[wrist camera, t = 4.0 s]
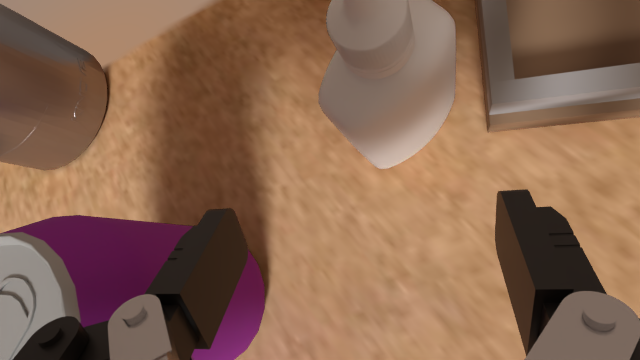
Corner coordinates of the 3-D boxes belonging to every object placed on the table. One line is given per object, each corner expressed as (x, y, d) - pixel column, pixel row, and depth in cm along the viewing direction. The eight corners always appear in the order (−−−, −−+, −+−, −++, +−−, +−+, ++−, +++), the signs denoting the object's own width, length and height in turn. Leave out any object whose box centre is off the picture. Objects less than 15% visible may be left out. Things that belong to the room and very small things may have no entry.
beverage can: (236, 394, 22) (10, 547, 11) (135, 324, 25) (-132, 387, 13) (294, 263, 22) (132, 277, 11) (188, 208, 25) (-31, 172, 14)
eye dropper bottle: (344, 104, 23) (240, -39, 12) (444, 66, 21) (437, -138, 10) (366, 177, 22) (275, 98, 10) (472, 142, 20) (499, 8, 9)
